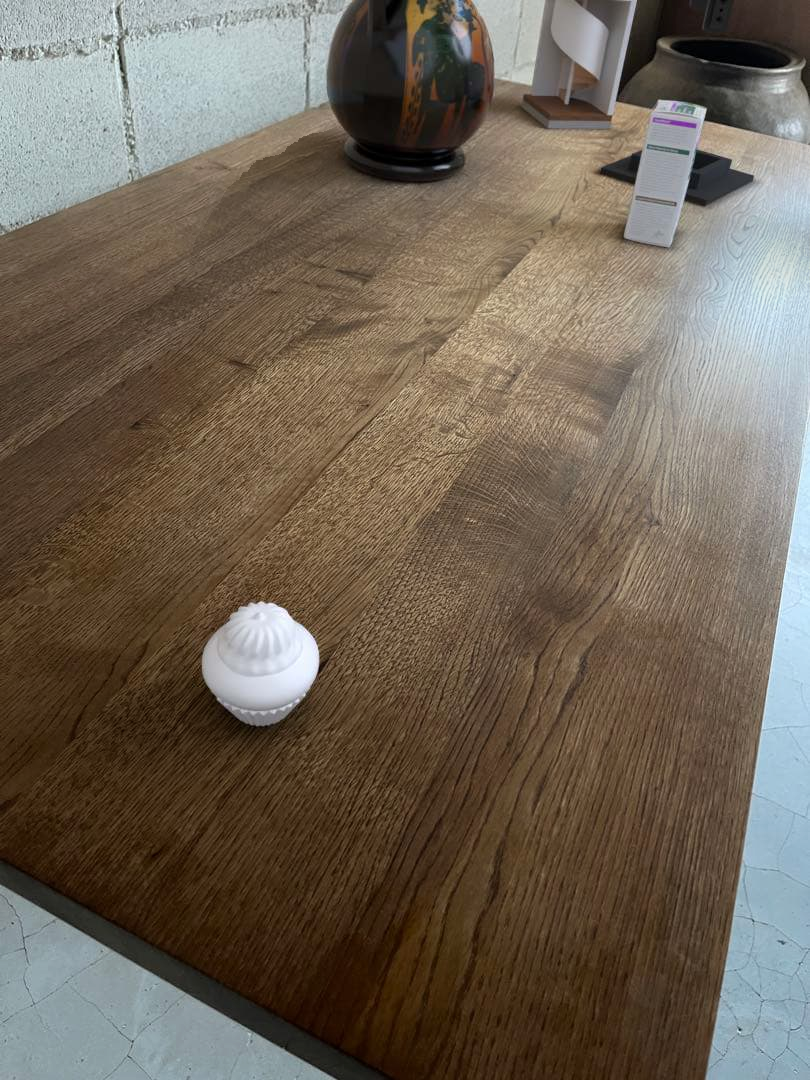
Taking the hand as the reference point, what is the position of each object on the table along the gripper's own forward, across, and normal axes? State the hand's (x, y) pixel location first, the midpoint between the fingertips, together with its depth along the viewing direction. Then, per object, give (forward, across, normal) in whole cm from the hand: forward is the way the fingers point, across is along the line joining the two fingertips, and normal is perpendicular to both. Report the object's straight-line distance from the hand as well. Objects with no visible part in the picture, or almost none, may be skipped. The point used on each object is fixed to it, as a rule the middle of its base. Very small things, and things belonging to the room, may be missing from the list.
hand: (706, 21), depth 92 cm
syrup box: (+24, +3, 0) cm, 24 cm away
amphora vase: (+24, +20, +31) cm, 44 cm away
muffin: (+17, -75, +31) cm, 83 cm away
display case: (+28, +52, +8) cm, 59 cm away
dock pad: (+26, +27, -7) cm, 39 cm away
